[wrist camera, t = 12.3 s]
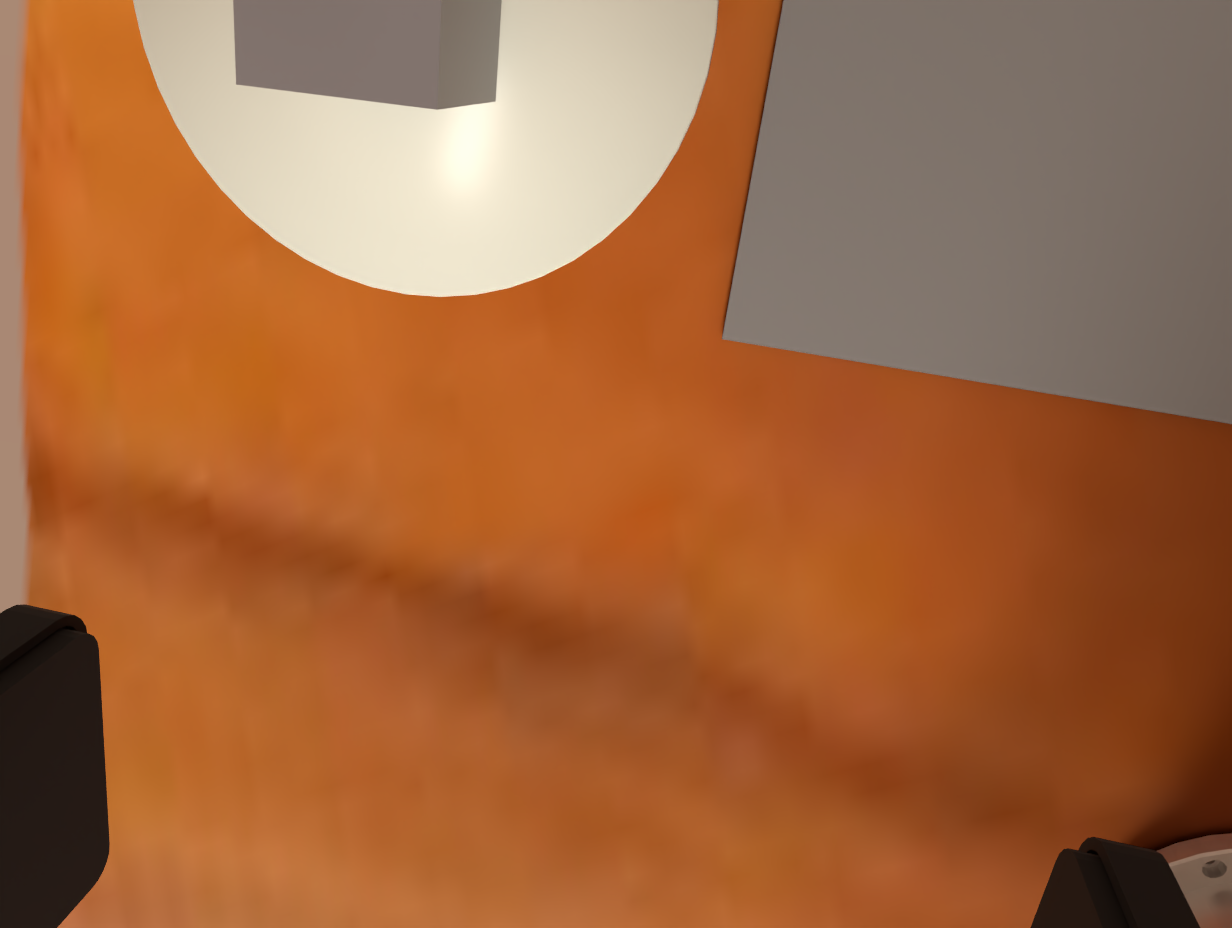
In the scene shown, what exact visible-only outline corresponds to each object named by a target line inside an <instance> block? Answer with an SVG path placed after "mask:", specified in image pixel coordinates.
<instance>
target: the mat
mask: <svg viewBox="0 0 1232 928" xmlns="http://www.w3.org/2000/svg"><path fill="white" fill-rule="evenodd" d="M722 339H725V340H731V341H737V342H743V343H749V344H755V345H761V346H767V347H773V348H779V349H785V350H791V351H797V352H803V353H809V354H815V355H821V356H827V357H833V358H839V359H845V360H851V361H857V362H863V363H869V364H875V365H881V366H887V367H893V368H899V369H905V370H911V371H917V372H923V373H929V374H935V375H941V376H947V377H953V378H959V379H965V380H971V381H977V382H983V383H989V384H995V385H1001V386H1007V387H1013V388H1019V389H1025V390H1031V391H1037V392H1043V393H1049V394H1055V395H1061V396H1067V397H1073V398H1079V399H1085V400H1091V401H1097V402H1103V403H1109V404H1115V405H1121V406H1127V407H1133V408H1139V409H1145V410H1151V411H1157V412H1163V413H1169V414H1175V415H1181V416H1187V417H1193V418H1199V419H1205V420H1211V421H1217V422H1223V423H1229V424H1232V0H783V6H782V11H781V17H780V22H779V28H778V33H777V39H776V44H775V50H774V55H773V61H772V66H771V72H770V77H769V83H768V88H767V94H766V99H765V105H764V110H763V116H762V121H761V127H760V132H759V138H758V143H757V149H756V155H755V160H754V166H753V171H752V177H751V182H750V188H749V193H748V199H747V204H746V210H745V215H744V221H743V226H742V232H741V237H740V243H739V248H738V254H737V259H736V265H735V270H734V276H733V281H732V287H731V292H730V298H729V303H728V309H727V314H726V320H725V325H724V331H723V336H722Z"/></svg>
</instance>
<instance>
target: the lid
mask: <svg viewBox="0 0 1232 928" xmlns="http://www.w3.org/2000/svg"><path fill="white" fill-rule="evenodd" d="M133 1H134V7H135V12H136V16H137V20H138V24H139V29H140V33H141V37H142V41H143V45H144V49H145V52H146V55H147V57H148V60H149V63H150V66H151V69H152V72H153V74H154V77H155V80H156V83H157V86H158V88H159V90H160V92H161V94H162V96H163V99H164V101H165V103H166V105H167V107H168V109H169V111H170V113H171V115H172V117H173V120H174V122H175V124H176V125H177V127H178V129H179V130H180V132H181V133H182V135H183V137H184V138H185V140H186V142H187V143H188V145H189V146H190V148H191V150H192V151H193V153H194V155H195V156H196V158H197V159H198V160H199V162H200V163H201V164H202V166H203V167H204V168H205V169H206V171H207V172H208V173H209V175H210V176H211V177H212V178H213V180H214V181H215V182H216V184H217V185H218V186H219V188H220V189H221V190H222V191H223V192H224V193H225V194H226V195H227V196H228V197H229V198H230V199H231V200H232V201H233V202H234V203H235V204H236V205H237V206H238V207H239V208H240V209H241V210H242V212H243V213H244V214H245V215H246V216H247V217H249V218H250V219H251V220H252V221H254V222H255V223H256V224H257V225H258V226H260V227H261V228H262V229H263V230H264V231H266V232H267V233H268V234H269V235H270V236H272V237H273V238H274V239H275V240H277V241H278V242H280V243H281V244H283V245H284V246H286V247H288V248H289V249H291V250H292V251H294V252H295V253H297V254H298V255H300V256H301V257H303V258H305V259H306V260H308V261H310V262H312V263H314V264H316V265H318V266H320V267H322V268H324V269H326V270H328V271H330V272H332V273H334V274H337V275H339V276H341V277H344V278H347V279H350V280H353V281H356V282H359V283H362V284H365V285H367V286H370V287H374V288H379V289H384V290H388V291H393V292H398V293H403V294H410V295H424V296H437V297H445V296H462V295H476V294H481V293H486V292H491V291H496V290H501V289H506V288H510V287H513V286H516V285H519V284H522V283H525V282H528V281H531V280H533V279H536V278H539V277H542V276H544V275H546V274H548V273H550V272H552V271H554V270H556V269H558V268H560V267H562V266H564V265H566V264H568V263H569V262H571V261H573V260H575V259H576V258H578V257H579V256H581V255H582V254H583V253H585V252H586V251H588V250H589V249H591V248H592V247H594V246H595V245H596V244H598V243H599V242H601V241H602V240H603V239H605V238H606V237H607V236H608V235H609V234H610V233H611V232H612V231H613V230H614V229H615V228H617V227H618V226H619V225H620V224H621V223H622V222H623V221H624V220H625V219H626V218H627V217H628V216H630V215H631V213H632V212H633V211H634V210H635V209H636V208H637V206H638V205H639V204H640V203H641V202H642V200H643V199H644V198H645V197H646V196H647V194H648V193H649V192H650V191H651V190H652V188H653V187H654V186H655V185H656V184H657V182H658V181H659V179H660V178H661V176H662V175H663V173H664V172H665V170H666V168H667V167H668V165H669V164H670V162H671V161H672V159H673V157H674V156H675V154H676V153H677V151H678V149H679V147H680V145H681V143H682V141H683V139H684V137H685V135H686V132H687V130H688V128H689V126H690V124H691V122H692V120H693V118H694V115H695V113H696V110H697V107H698V104H699V101H700V98H701V95H702V92H703V89H704V86H705V83H706V80H707V77H708V73H709V68H710V63H711V58H712V53H713V48H714V42H715V37H716V31H717V18H718V5H719V0H133Z"/></svg>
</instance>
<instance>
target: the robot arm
mask: <svg viewBox="0 0 1232 928" xmlns="http://www.w3.org/2000/svg"><path fill="white" fill-rule="evenodd" d="M108 854H109V827H108V809H107V791H106V772H105V754H104V736H103V718H102V700H101V682H100V664H99V648H98V643H97V641H96V639H95V637H94V636H92V635H90V634H87V630H86V626H85V624H84V623H83V621H82V620H81V619H80V618H78V617H77V616H75V615H71V614H66V613H61V612H57V611H52V610H48V609H43V608H38V607H34V606H29V605H16V606H13V607H11V608H9V609H6V610H5V611H3V612H2V613H0V928H57V927H58V926H59V925H60V924H61V923H62V921H63V920H64V919H65V918H66V917H67V916H68V915H69V914H70V912H71V911H72V910H73V909H74V908H75V907H76V906H77V904H78V903H79V902H80V901H81V900H82V899H83V898H84V897H85V895H86V894H87V893H88V892H89V891H90V890H91V889H92V887H93V886H94V885H95V883H96V882H97V881H98V879H99V877H100V876H101V874H102V872H103V870H104V867H105V865H106V862H107V858H108ZM1031 928H1232V833H1229V834H1218V835H1208V836H1204V837H1200V838H1195V839H1191V840H1187V841H1183V842H1178V843H1175V844H1173V845H1170V846H1168V847H1165V848H1162V849H1160V850H1157V851H1155V850H1151V849H1147V848H1142V847H1137V846H1133V845H1128V844H1124V843H1119V842H1114V841H1110V840H1105V839H1101V838H1096V837H1091V838H1087V839H1086V840H1085V841H1084V842H1083V843H1082V845H1081V846H1080V848H1079V850H1073V849H1064V850H1063V851H1062V852H1061V853H1060V854H1059V856H1058V858H1057V860H1056V862H1055V865H1054V868H1053V870H1052V873H1051V875H1050V878H1049V881H1048V883H1047V886H1046V889H1045V891H1044V894H1043V897H1042V899H1041V902H1040V904H1039V907H1038V910H1037V912H1036V915H1035V918H1034V920H1033V923H1032V926H1031Z"/></svg>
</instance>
